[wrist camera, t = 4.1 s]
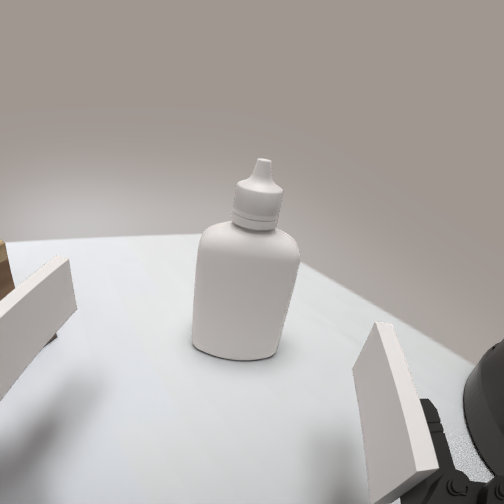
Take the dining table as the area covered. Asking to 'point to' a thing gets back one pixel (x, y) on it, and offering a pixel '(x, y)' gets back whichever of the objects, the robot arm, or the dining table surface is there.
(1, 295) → the display pedestal
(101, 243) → the dining table surface
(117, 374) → the dining table surface
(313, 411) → the dining table surface
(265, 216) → the eye dropper bottle
